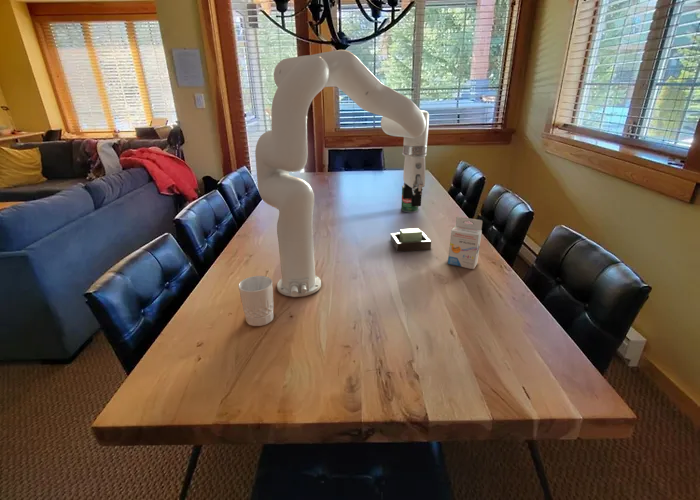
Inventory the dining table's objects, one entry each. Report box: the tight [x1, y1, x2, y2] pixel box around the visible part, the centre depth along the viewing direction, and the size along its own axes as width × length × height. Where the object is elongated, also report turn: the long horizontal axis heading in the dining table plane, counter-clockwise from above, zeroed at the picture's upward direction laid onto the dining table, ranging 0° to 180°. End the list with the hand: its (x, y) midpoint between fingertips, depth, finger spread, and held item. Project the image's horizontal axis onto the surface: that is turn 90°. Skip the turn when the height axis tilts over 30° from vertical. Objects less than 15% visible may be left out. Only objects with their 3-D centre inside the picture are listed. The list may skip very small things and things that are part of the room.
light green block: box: [399, 227, 423, 242], centre depth 133 cm, size 4×7×5 cm, turn 98°
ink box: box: [447, 216, 483, 270], centre depth 117 cm, size 8×5×15 cm, turn 60°
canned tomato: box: [400, 184, 419, 213], centre depth 171 cm, size 8×8×11 cm
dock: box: [390, 231, 432, 253], centre depth 134 cm, size 10×12×3 cm
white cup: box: [238, 275, 275, 327], centre depth 91 cm, size 8×8×10 cm
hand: (411, 202), depth 128 cm, fingers open, 9 cm apart
